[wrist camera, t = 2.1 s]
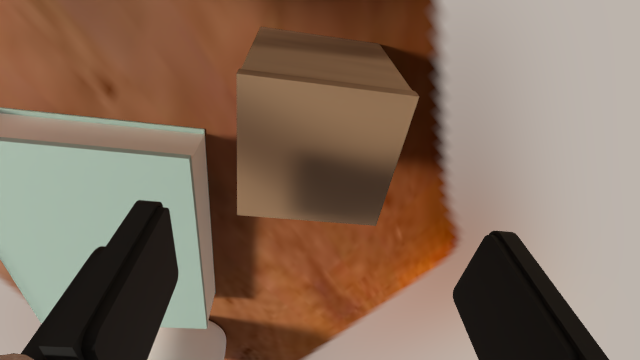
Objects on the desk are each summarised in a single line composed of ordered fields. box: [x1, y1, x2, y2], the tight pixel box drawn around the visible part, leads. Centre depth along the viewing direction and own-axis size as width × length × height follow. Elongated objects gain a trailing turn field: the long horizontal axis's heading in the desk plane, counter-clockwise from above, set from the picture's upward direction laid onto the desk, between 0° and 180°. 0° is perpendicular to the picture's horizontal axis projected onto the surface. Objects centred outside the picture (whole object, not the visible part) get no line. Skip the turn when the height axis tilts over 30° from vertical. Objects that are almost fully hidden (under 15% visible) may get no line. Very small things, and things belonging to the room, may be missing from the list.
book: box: [0, 107, 216, 329], centre depth 22 cm, size 12×16×4 cm
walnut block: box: [237, 27, 419, 226], centre depth 15 cm, size 6×6×7 cm
